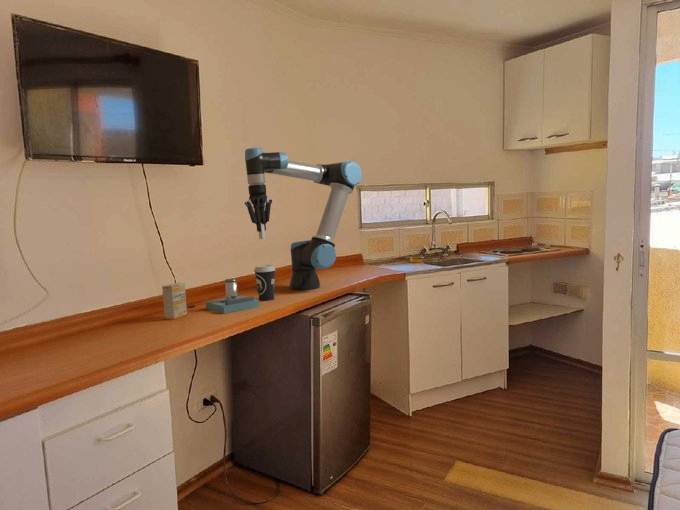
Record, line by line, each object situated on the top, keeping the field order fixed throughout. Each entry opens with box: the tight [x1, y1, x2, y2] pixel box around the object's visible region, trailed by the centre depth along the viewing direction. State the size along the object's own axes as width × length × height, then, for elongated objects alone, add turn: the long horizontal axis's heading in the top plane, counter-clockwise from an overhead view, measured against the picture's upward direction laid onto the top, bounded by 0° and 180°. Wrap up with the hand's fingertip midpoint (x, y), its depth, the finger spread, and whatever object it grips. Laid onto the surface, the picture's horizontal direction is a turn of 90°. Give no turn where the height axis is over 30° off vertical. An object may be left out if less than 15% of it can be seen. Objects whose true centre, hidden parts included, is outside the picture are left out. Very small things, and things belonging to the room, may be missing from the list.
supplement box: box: [161, 282, 188, 320], centre depth 203 cm, size 8×5×13 cm, turn 160°
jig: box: [205, 295, 260, 314], centre depth 216 cm, size 16×16×5 cm
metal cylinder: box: [224, 277, 239, 301], centre depth 216 cm, size 5×5×12 cm
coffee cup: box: [253, 264, 276, 302], centre depth 231 cm, size 10×10×15 cm
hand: (262, 238), depth 228 cm, fingers closed
